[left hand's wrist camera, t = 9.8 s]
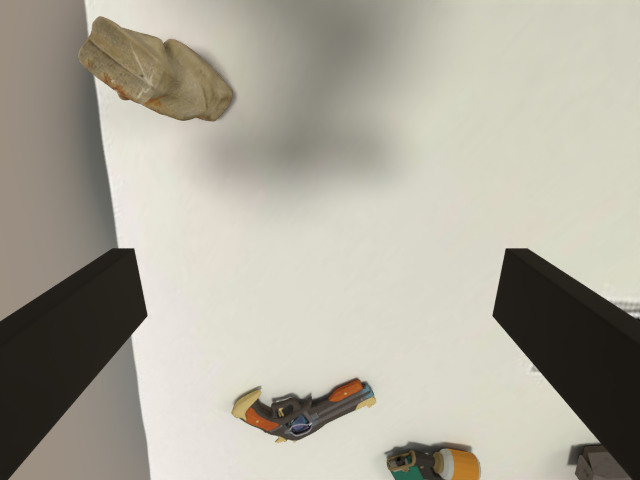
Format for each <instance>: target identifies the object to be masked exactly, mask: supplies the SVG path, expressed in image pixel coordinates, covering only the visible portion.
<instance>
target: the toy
mask: <svg viewBox="0 0 640 480" xmlns="http://www.w3.org/2000/svg"><path fill="white" fill-rule="evenodd" d="M575 475H576V476H577V478H578V479H579V480H632V479H631V478H630V477H629V476H628V474H627V473H626V472H625V471H624V470H623V468H622V467H621V466H620V465H619V464H618V463H617V461H616V460H615V459H614V458H613V457H612V456H611V454H610V453H609V452H608V451H607V450H606V449H605V447H604V446H603V445H599V446H585V448H584V451H583V455H579V459H578V463H577V468H576V472H575Z"/></svg>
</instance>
